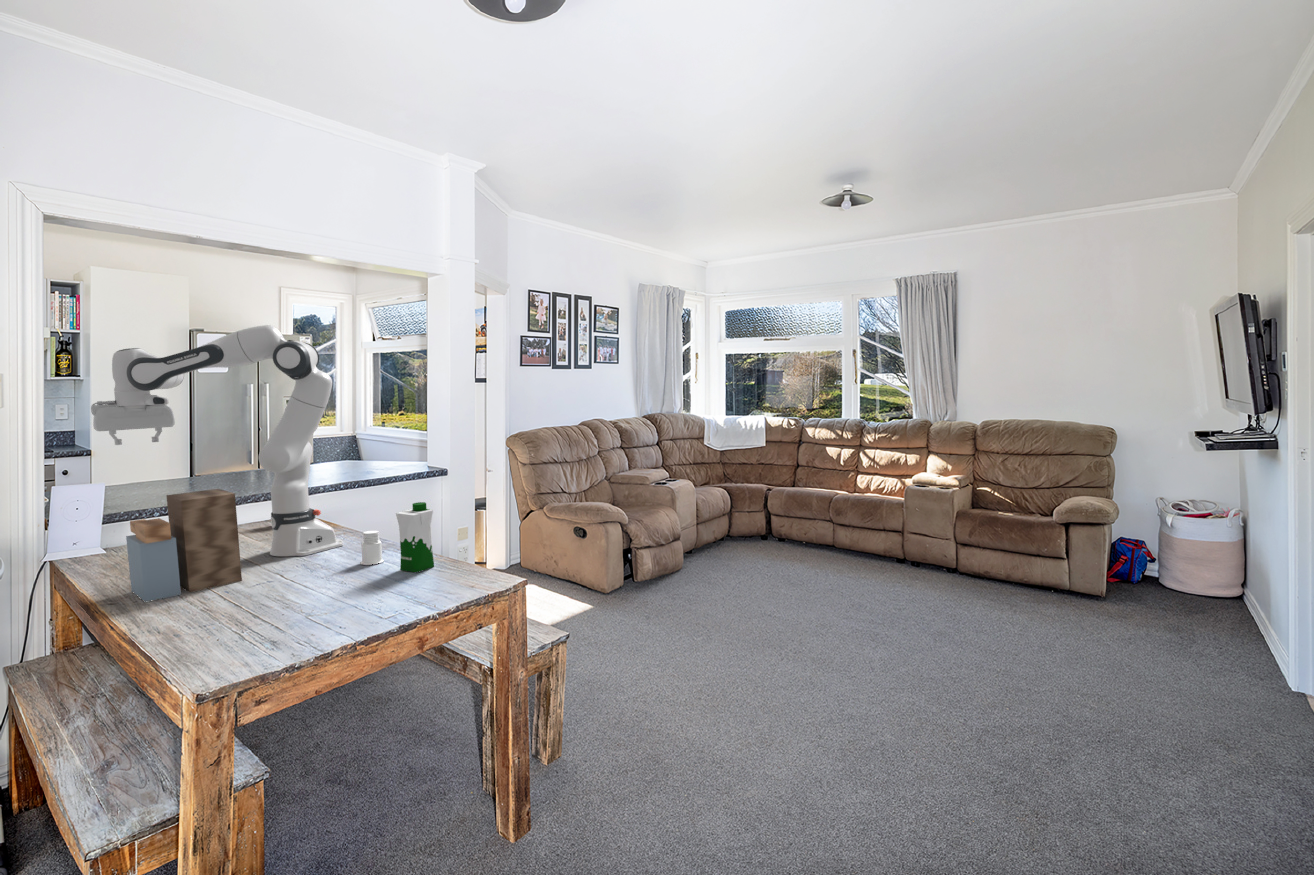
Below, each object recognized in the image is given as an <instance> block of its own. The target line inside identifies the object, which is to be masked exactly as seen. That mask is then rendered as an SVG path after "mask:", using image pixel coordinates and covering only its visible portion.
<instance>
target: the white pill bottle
mask: <svg viewBox="0 0 1314 875" xmlns="http://www.w3.org/2000/svg"><path fill="white" fill-rule="evenodd" d="M362 533H363V534H362V535H363V536H362V537H363V542H362V543H361V561H360V562H359V563H360V565H365V566H371V565H372V564H373V565H378V563H379V564H382V563H384V562H385V560H384V559H383V552H382V550H383V549H382V545H383V544H382V541H381V540H380V531H379V530H368V531H367V530H366V531H363V532H362ZM383 561H384V562H383Z"/></svg>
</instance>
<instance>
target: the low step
mask: <svg viewBox="0 0 1314 875" xmlns="http://www.w3.org/2000/svg"><path fill="white" fill-rule="evenodd" d="M125 539H126V549H127V560H128V569H129V580H130V589H131V593H132V592H134V593H135V594H136V595H138V597H137V598H139V597H140V598H141V599H142V600H144V601H145V602H146V601H150V602H152V601H151V600H155V601H157V600H156V599H159V600H163V599H167V598H171V597H176V595H177V596H181V594H182V592H181V587H180V579H179V568H178V557H177V546H176V538H175V537H173V536H171V539H170V540H164V541H158V542H153V543H147V544H146V543H144V542H142V541H140V540H139V539H137V538H136V534H131V535H126V536H125ZM135 594H134V595H135ZM136 595H135V596H136ZM140 598H139V599H140ZM162 598H163V599H162ZM141 599H140V600H141ZM142 600H141V601H142ZM144 601H143V602H144ZM145 602H144V603H145ZM146 603H147V602H146Z"/></svg>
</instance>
